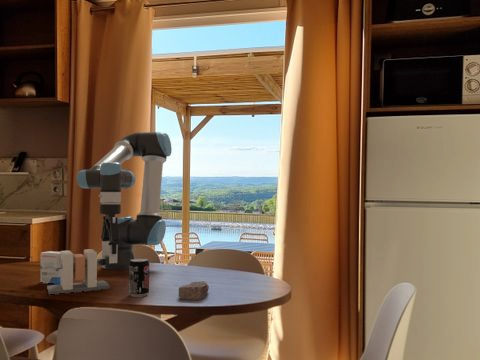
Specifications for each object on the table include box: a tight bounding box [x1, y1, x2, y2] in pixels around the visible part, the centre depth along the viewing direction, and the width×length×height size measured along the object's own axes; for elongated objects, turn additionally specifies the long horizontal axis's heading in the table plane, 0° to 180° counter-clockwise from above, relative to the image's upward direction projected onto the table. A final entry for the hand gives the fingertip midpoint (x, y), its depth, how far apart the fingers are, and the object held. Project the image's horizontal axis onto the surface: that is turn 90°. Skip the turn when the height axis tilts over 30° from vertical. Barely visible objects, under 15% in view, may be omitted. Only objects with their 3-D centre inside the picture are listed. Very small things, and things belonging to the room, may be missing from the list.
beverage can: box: [128, 257, 150, 298], centre depth 144 cm, size 7×7×12 cm
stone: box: [178, 280, 210, 301], centre depth 143 cm, size 12×9×5 cm
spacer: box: [73, 253, 85, 281], centre depth 153 cm, size 3×8×8 cm, turn 29°
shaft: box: [60, 256, 116, 269], centre depth 154 cm, size 19×4×4 cm, turn 119°
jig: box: [46, 248, 110, 296], centre depth 153 cm, size 20×10×13 cm, turn 119°
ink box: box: [39, 250, 61, 285], centre depth 163 cm, size 9×5×12 cm, turn 71°
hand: (109, 260), depth 158 cm, fingers open, 13 cm apart
